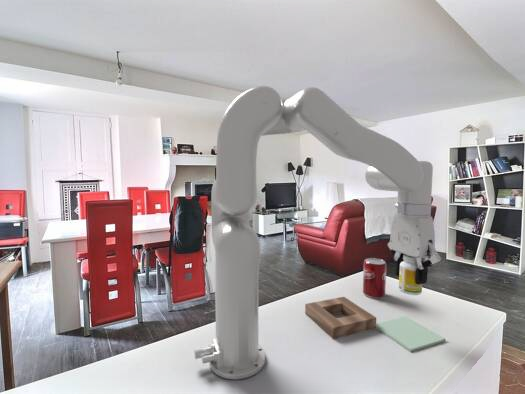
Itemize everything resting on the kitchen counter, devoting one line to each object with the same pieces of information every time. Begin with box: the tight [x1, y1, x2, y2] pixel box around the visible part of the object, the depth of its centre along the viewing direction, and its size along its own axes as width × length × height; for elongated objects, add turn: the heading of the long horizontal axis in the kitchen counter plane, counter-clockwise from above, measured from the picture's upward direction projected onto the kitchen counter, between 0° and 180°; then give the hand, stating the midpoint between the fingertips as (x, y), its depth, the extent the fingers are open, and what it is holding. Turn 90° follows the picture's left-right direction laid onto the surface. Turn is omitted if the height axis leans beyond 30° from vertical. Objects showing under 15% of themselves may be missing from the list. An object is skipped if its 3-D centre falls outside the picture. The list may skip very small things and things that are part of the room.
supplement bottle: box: [398, 254, 423, 296], centre depth 73 cm, size 5×5×10 cm
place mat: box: [375, 316, 446, 353], centre depth 74 cm, size 12×12×1 cm
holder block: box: [304, 296, 377, 340], centre depth 81 cm, size 14×14×3 cm
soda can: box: [362, 257, 387, 299], centre depth 98 cm, size 7×7×12 cm
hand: (410, 278), depth 73 cm, fingers closed on supplement bottle, 5 cm apart
